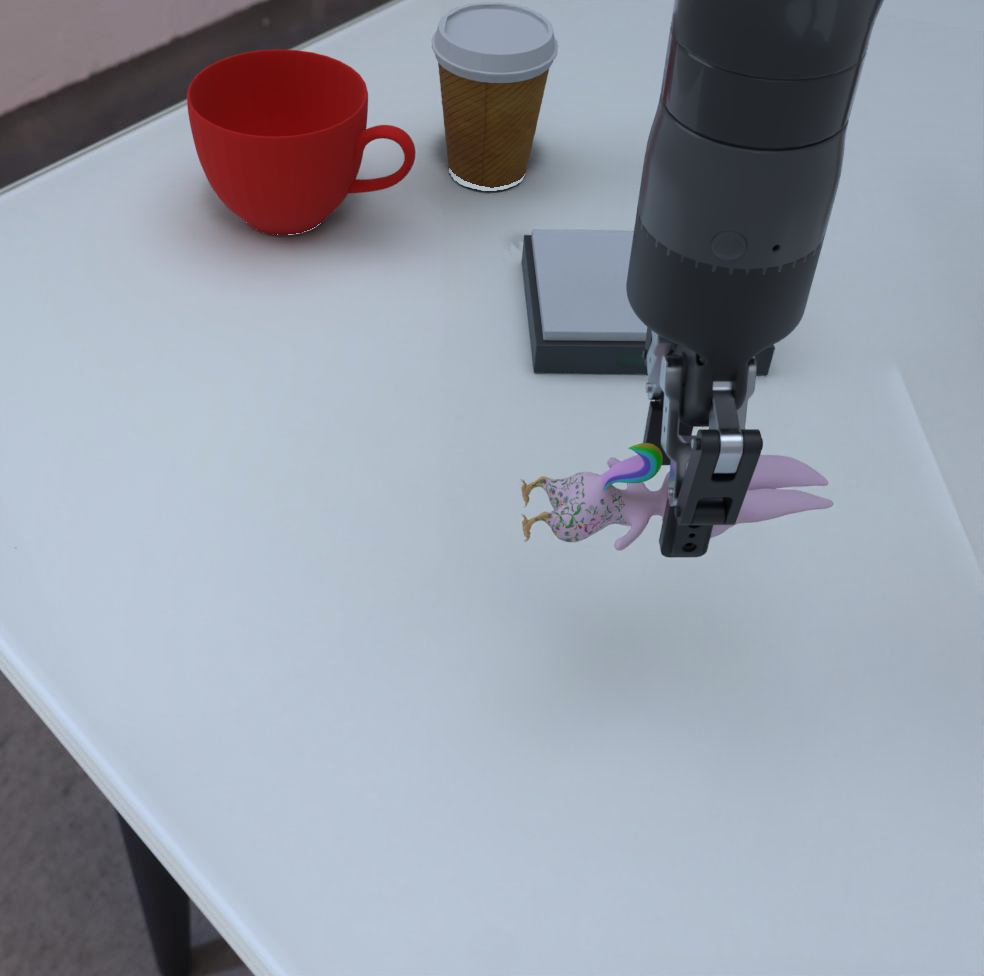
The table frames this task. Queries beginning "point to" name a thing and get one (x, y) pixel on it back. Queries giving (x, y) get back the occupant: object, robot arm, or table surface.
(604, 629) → the table surface
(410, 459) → the table surface
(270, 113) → the ceramic cup
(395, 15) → the table surface
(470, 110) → the disposable coffee cup
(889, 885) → the table surface
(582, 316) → the scale
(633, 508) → the rabbit figure
